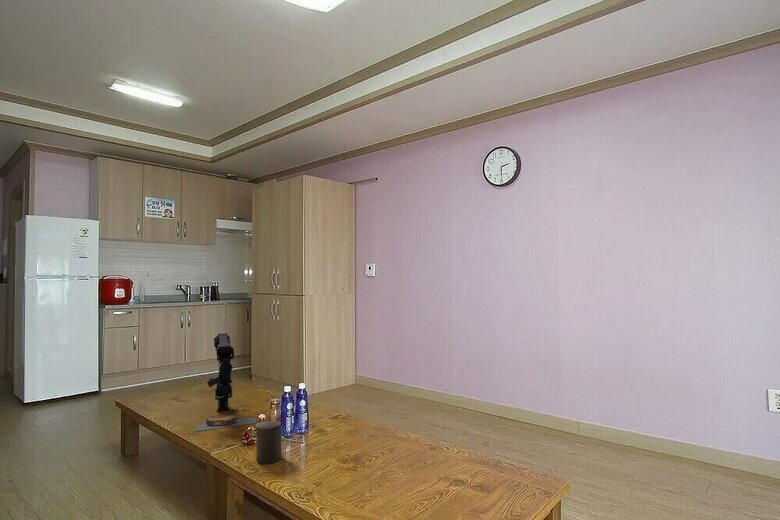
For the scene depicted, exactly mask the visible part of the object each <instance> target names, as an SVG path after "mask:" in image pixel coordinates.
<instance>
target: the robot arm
mask: <svg viewBox="0 0 780 520" xmlns="http://www.w3.org/2000/svg"><path fill="white" fill-rule="evenodd" d="M213 348H214V349H215V352H216V361H217V362H218V374H217V375H215V376H213V377H211V378H208V379H207V380H206V384H207V386H208V388H212V387H213V386H215V388H214V400H215V401H217V407H216V412H220V411H221V410H223V411H230V409H231V408H230V406H229V404H230V403H229V402H230V401H229V399H232V398H233V388H232V387H233V385H232V384H233V378H232V370H233V365H232V361H231V360H234V358H235V350H234V347H233V346H232V345H231V336H230V335H228V333H227V332H225V333H218V334H217V335H216V336H215V337H213Z"/></svg>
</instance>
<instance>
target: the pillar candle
mask: <svg viewBox="0 0 780 520" xmlns="http://www.w3.org/2000/svg"><path fill="white" fill-rule="evenodd" d="M281 424H282V422H281V421H279V420H268V421H261V422H258V423H256V424H255V425H256V426H255V433H256V434H255V438H256V439H255V440H256V441H255V442H256V443H255V445H256V446H255V447H256V448H255V449H256V451H255V452H256V454H255V457H256V458H255V459H256V460H255V461H256V462H257V463H258V464H262V465H268V464H275V463H277V462H279V461H280V460H282V457H283V455H282V425H281Z"/></svg>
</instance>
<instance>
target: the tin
mask: <svg viewBox="0 0 780 520" xmlns="http://www.w3.org/2000/svg"><path fill="white" fill-rule="evenodd" d="M237 420H238V418H237V415H235V414H224V415H223V414H222V415H221V414H218V415H212V416H208V417H207V418H206V424H207V425H230V424H233V423H235V422H236V421H237Z"/></svg>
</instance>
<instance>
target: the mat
mask: <svg viewBox="0 0 780 520" xmlns="http://www.w3.org/2000/svg"><path fill="white" fill-rule="evenodd" d="M247 425H257V419H256V417H255V416H254V417H245V418H237V421H236V422H235V423H233V424H230V425H207V423H202V424H196V426H195V429H194V432H196V431H198V432H204V431H203V430H205V431H210V429H212V430H218V428H220V429H225V428H226V429H227V428H232V427H233V428H234V427H240V426H247Z"/></svg>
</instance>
